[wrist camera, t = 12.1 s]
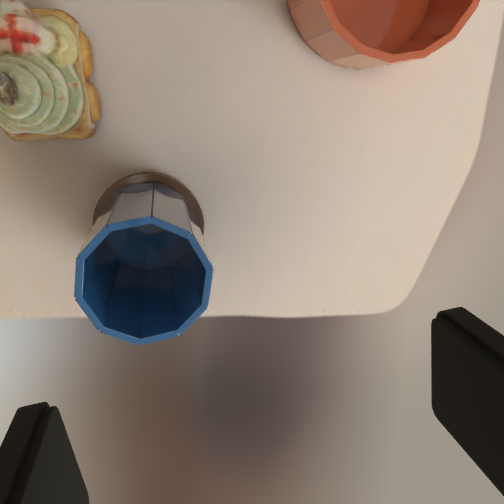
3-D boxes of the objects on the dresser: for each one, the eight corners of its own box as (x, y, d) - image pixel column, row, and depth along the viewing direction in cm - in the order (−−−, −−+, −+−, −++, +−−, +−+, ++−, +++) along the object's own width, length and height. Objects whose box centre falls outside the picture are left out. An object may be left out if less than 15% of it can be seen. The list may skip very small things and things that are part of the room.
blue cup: (87, 193, 32) (54, 234, 22) (187, 174, 33) (200, 205, 23) (112, 281, 34) (92, 356, 24) (205, 261, 35) (224, 325, 25)
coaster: (80, 183, 32) (79, 184, 32) (192, 162, 33) (192, 163, 33) (109, 285, 35) (108, 289, 34) (212, 264, 36) (212, 266, 36)
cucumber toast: (-18, 16, 28) (-104, -27, 19) (84, 7, 29) (49, -39, 20) (19, 146, 31) (-42, 164, 22) (111, 134, 32) (92, 146, 22)
